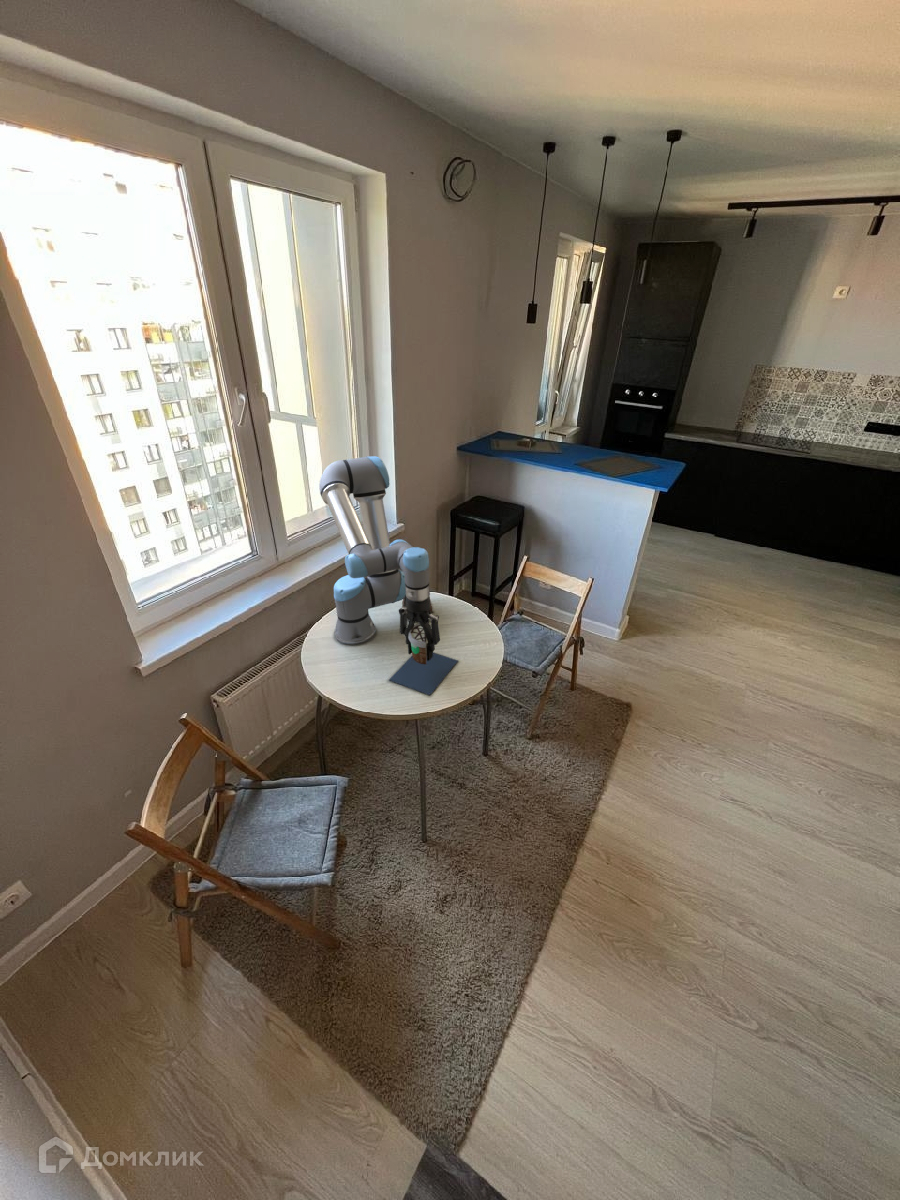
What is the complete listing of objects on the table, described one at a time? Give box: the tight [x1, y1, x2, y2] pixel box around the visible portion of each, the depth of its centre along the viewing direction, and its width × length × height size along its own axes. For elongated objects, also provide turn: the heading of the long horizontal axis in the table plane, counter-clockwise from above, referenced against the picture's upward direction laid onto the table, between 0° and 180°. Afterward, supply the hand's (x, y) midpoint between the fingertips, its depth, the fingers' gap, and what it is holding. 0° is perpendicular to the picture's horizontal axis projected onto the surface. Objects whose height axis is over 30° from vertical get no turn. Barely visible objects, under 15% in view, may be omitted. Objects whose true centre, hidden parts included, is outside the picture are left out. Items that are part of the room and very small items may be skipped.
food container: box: [408, 622, 428, 665], centre depth 162 cm, size 12×6×10 cm, turn 178°
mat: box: [388, 652, 459, 696], centre depth 170 cm, size 16×20×1 cm
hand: (420, 655), depth 165 cm, fingers closed on food container, 7 cm apart
